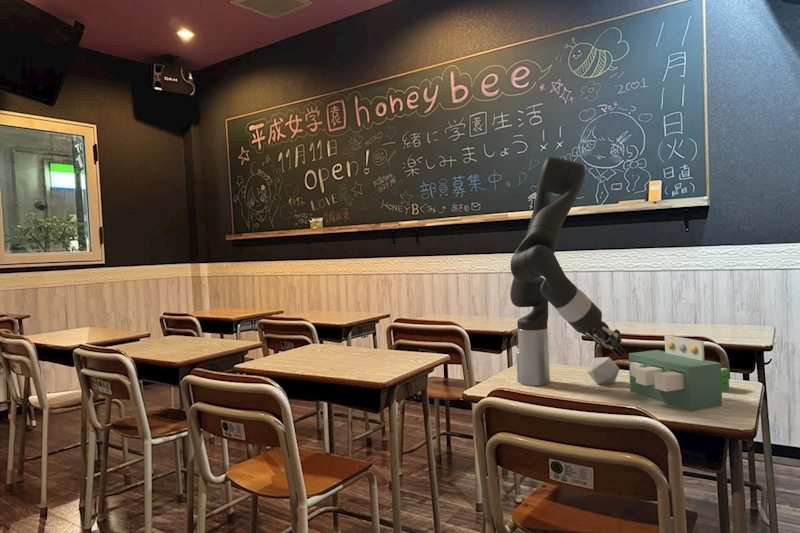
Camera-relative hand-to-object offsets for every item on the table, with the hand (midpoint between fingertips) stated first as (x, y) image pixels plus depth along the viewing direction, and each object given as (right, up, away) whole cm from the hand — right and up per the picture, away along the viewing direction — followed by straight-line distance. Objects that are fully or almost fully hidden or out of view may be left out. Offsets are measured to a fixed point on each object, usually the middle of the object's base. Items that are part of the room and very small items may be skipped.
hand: (622, 354), depth 139 cm
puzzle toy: (+35, -13, +22) cm, 43 cm away
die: (+8, -14, +34) cm, 37 cm away
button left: (+14, -9, +19) cm, 25 cm away
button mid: (+12, -9, +11) cm, 19 cm away
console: (+19, -14, +14) cm, 27 cm away
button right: (+14, -9, +5) cm, 17 cm away
